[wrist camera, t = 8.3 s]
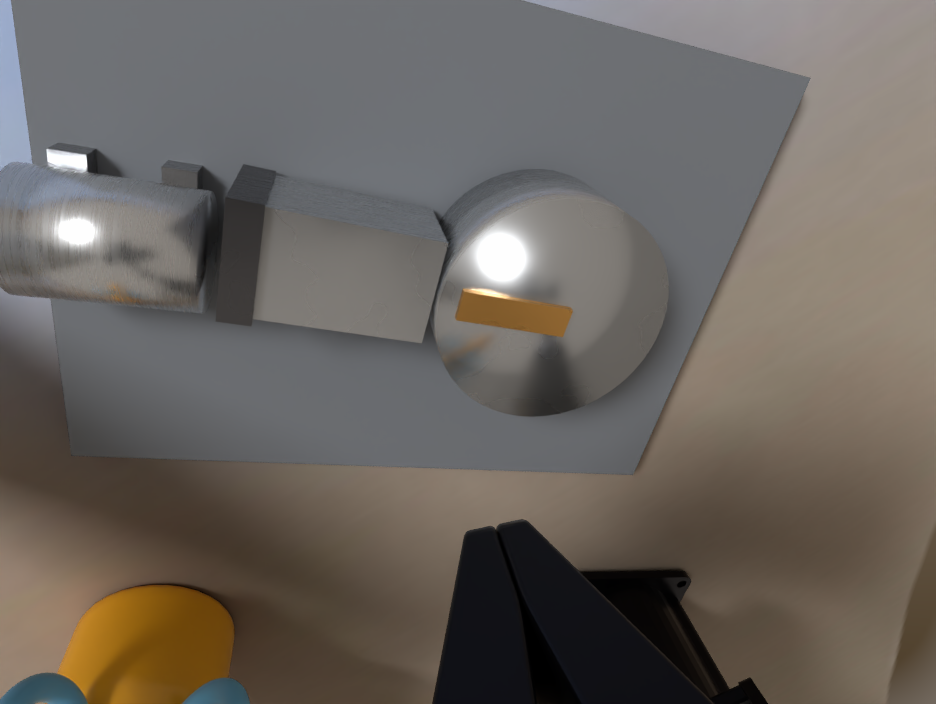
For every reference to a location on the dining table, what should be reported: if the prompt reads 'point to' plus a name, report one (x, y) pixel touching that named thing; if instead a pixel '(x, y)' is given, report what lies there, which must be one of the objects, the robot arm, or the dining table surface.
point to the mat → (391, 177)
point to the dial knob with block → (456, 279)
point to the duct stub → (107, 233)
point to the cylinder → (143, 653)
